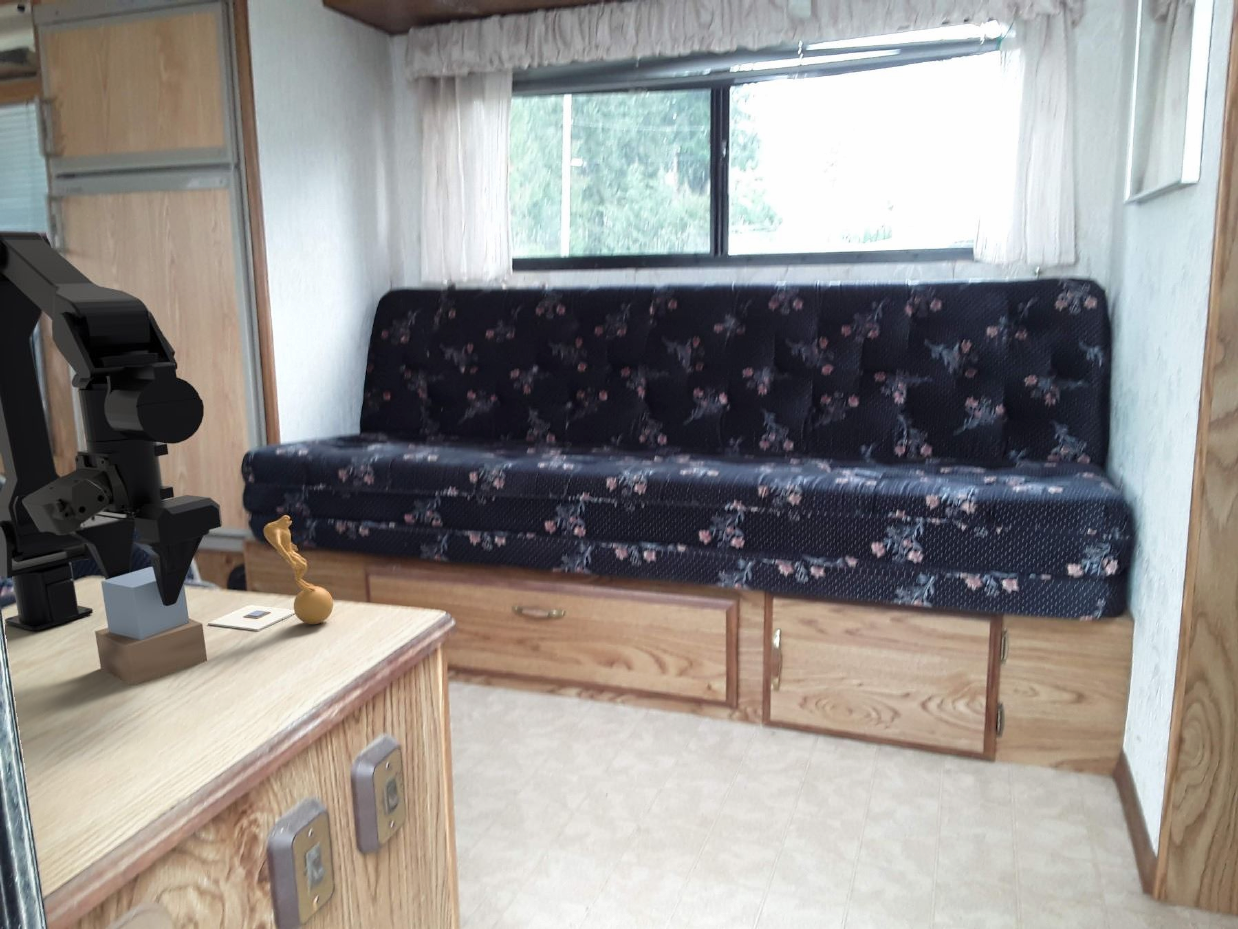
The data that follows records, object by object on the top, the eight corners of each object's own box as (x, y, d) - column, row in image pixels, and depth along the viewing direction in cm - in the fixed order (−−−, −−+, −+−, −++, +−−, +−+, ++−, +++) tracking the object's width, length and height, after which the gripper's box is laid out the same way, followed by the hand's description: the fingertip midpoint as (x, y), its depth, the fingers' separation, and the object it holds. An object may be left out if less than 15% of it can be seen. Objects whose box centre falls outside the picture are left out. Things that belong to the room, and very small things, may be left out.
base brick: (101, 671, 90) (95, 631, 89) (173, 648, 95) (168, 610, 94) (133, 688, 85) (126, 646, 85) (207, 663, 91) (202, 623, 90)
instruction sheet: (208, 624, 101) (207, 621, 101) (249, 606, 106) (249, 603, 106) (258, 631, 98) (257, 627, 98) (298, 612, 103) (298, 608, 103)
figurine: (337, 632, 96) (324, 519, 94) (275, 642, 94) (261, 526, 92) (332, 608, 104) (321, 503, 102) (275, 617, 102) (262, 509, 100)
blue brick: (108, 632, 89) (101, 581, 88) (157, 615, 93) (150, 566, 92) (140, 640, 86) (132, 587, 85) (189, 622, 90) (182, 572, 89)
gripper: (-26, 446, 84) (2, 612, 87) (92, 457, 75) (120, 643, 77) (96, 428, 94) (118, 578, 96) (215, 435, 84) (235, 602, 87)
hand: (144, 599), depth 89 cm, fingers open, 8 cm apart
